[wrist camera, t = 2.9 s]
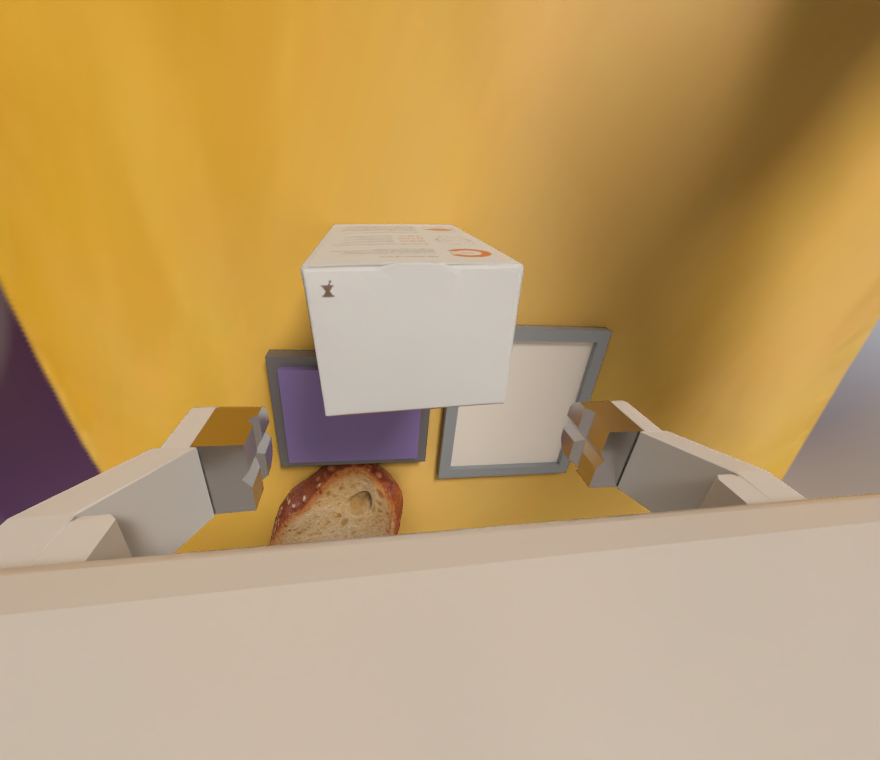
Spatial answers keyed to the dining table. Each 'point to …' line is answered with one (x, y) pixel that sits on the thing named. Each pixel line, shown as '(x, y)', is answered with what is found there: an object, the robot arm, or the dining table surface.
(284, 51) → the dining table surface
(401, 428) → the ink pad
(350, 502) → the bread slice
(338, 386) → the small box
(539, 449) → the print frame
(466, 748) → the robot arm
